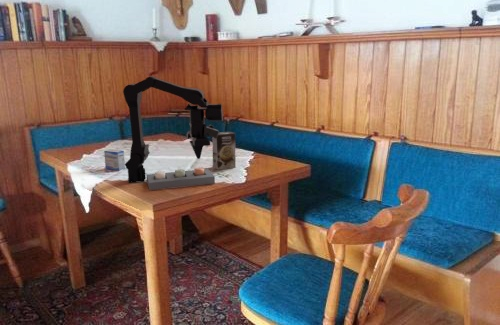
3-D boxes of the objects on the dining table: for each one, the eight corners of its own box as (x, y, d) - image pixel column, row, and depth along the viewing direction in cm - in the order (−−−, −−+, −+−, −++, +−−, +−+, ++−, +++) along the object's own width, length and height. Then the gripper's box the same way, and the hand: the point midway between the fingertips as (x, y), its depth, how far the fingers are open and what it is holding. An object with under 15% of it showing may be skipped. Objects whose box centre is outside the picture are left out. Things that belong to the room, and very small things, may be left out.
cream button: (155, 181, 170) (155, 174, 169) (154, 178, 174) (154, 171, 173) (166, 180, 171) (165, 173, 170) (164, 177, 175) (164, 170, 174)
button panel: (149, 190, 166) (149, 182, 165) (146, 181, 177) (146, 174, 176) (214, 183, 174) (214, 176, 173) (208, 175, 185) (208, 168, 184)
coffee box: (218, 170, 193) (217, 135, 189) (212, 166, 198) (211, 132, 194) (236, 167, 197) (235, 133, 193) (230, 164, 202) (229, 130, 198)
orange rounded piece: (195, 177, 175) (195, 170, 174) (193, 175, 178) (193, 168, 178) (205, 176, 176) (205, 169, 175) (203, 174, 179) (203, 167, 179)
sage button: (176, 179, 172) (175, 172, 171) (174, 177, 176) (174, 170, 175) (185, 178, 173) (185, 171, 173) (184, 176, 177) (184, 169, 176)
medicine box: (105, 169, 196) (103, 150, 194) (111, 166, 200) (110, 148, 198) (119, 171, 193) (117, 152, 191) (125, 168, 197) (124, 150, 195)
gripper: (222, 123, 165) (223, 162, 169) (211, 116, 182) (212, 152, 186) (193, 125, 162) (195, 164, 166) (185, 117, 179) (187, 154, 183)
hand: (198, 158), depth 175 cm, fingers closed
